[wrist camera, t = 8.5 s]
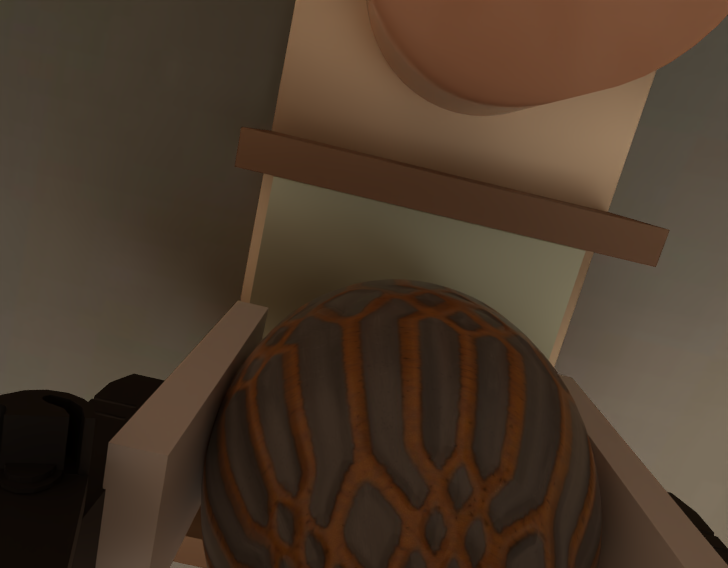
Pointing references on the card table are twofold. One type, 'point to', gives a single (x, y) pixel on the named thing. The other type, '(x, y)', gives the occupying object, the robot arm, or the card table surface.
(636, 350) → the card table surface
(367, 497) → the vase
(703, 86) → the card table surface
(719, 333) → the card table surface
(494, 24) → the peach rounded cylinder
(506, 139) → the wooden divided tray
